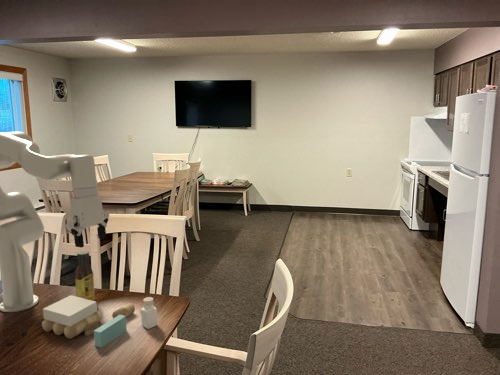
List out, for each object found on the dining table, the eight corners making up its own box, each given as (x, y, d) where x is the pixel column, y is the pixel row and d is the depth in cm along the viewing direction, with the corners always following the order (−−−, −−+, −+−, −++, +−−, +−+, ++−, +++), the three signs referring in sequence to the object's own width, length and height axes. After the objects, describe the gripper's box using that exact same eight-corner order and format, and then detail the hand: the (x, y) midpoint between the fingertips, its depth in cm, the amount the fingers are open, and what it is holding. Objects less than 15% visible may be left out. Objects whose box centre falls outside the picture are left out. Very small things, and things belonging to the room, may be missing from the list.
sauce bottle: (88, 308, 144) (84, 256, 140) (73, 306, 145) (68, 255, 142) (98, 300, 150) (95, 250, 147) (84, 299, 151) (80, 249, 148)
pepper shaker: (147, 330, 129) (146, 303, 127) (141, 325, 132) (139, 299, 130) (158, 325, 132) (156, 298, 130) (151, 321, 135) (150, 295, 133)
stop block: (95, 345, 120) (93, 330, 119) (120, 328, 130) (119, 314, 129) (101, 347, 119) (100, 332, 118) (126, 330, 129) (125, 316, 128)
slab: (43, 318, 128) (42, 308, 128) (71, 304, 138) (70, 295, 138) (70, 326, 124) (69, 316, 123) (97, 311, 133) (96, 301, 133)
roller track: (42, 330, 129) (41, 319, 128) (72, 314, 140) (71, 303, 139) (92, 346, 120) (91, 334, 119) (120, 327, 131) (119, 316, 130)
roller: (121, 323, 134) (120, 312, 133) (112, 320, 135) (111, 310, 135) (135, 314, 140) (134, 304, 139) (126, 311, 142) (126, 301, 141)
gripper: (97, 187, 139) (102, 234, 142) (54, 196, 123) (61, 249, 126) (113, 188, 136) (118, 236, 138) (71, 197, 120) (78, 251, 123)
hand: (91, 242), depth 132 cm, fingers open, 9 cm apart
